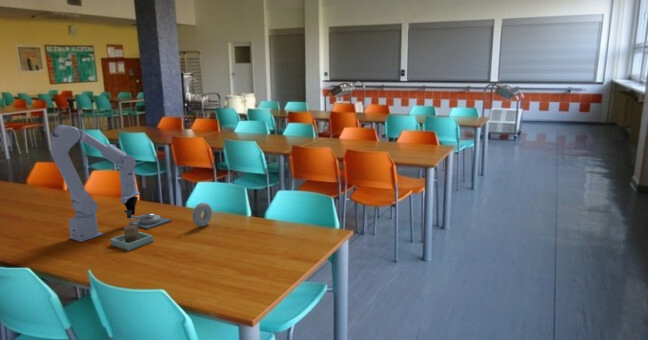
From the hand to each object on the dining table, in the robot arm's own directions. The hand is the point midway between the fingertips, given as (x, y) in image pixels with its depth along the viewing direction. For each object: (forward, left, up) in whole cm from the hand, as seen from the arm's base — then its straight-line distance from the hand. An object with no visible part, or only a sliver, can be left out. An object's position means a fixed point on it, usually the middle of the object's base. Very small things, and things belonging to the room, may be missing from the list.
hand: (131, 214), depth 201 cm
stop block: (-14, -19, -4) cm, 24 cm away
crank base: (+5, -5, -4) cm, 8 cm away
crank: (+2, -3, -2) cm, 4 cm away
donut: (+14, -27, -5) cm, 31 cm away
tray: (-14, -19, -4) cm, 24 cm away
